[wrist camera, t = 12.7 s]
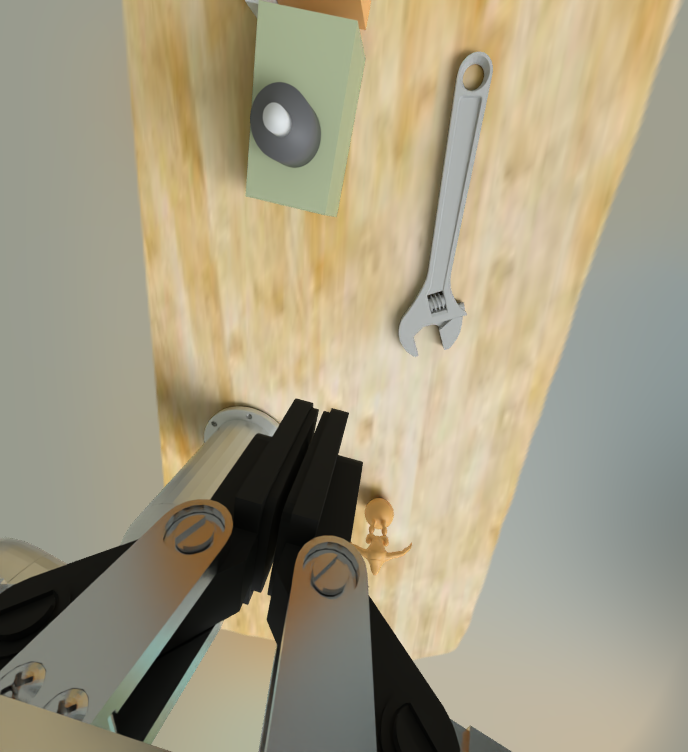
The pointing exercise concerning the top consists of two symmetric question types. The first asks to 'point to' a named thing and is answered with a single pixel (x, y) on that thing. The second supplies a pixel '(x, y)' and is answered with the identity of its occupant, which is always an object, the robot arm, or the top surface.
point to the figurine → (379, 518)
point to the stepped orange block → (335, 8)
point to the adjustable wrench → (450, 213)
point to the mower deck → (321, 84)
